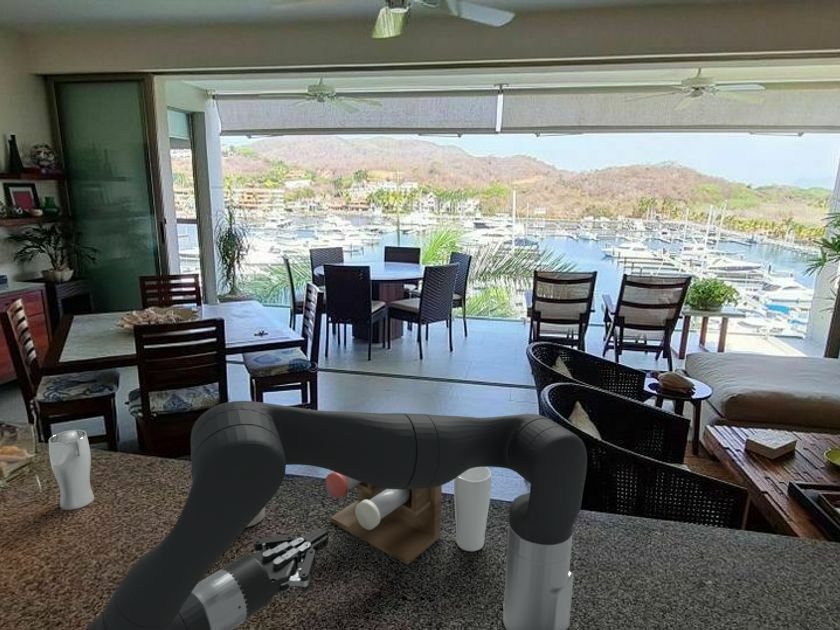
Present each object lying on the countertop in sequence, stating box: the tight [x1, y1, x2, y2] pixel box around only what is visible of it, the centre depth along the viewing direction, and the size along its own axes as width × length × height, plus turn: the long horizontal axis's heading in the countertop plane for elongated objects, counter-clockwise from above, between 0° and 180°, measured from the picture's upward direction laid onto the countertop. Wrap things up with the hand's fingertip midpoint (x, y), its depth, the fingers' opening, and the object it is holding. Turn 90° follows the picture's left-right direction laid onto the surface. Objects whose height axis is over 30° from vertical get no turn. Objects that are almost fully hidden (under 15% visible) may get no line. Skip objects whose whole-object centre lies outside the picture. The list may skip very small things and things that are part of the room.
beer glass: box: [48, 429, 95, 511], centre depth 110 cm, size 7×7×15 cm
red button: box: [325, 471, 361, 499], centre depth 103 cm, size 5×10×5 cm, turn 142°
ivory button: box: [355, 489, 411, 530], centre depth 94 cm, size 5×10×5 cm, turn 142°
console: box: [330, 482, 443, 565], centre depth 102 cm, size 20×10×18 cm, turn 52°
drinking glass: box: [453, 467, 492, 552], centre depth 98 cm, size 7×7×15 cm
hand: (325, 535), depth 85 cm, fingers closed
